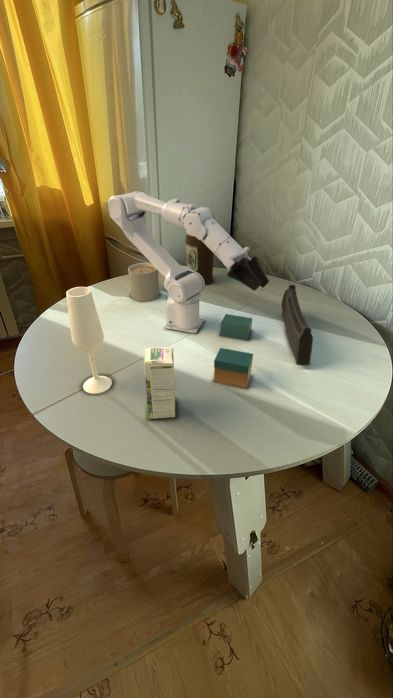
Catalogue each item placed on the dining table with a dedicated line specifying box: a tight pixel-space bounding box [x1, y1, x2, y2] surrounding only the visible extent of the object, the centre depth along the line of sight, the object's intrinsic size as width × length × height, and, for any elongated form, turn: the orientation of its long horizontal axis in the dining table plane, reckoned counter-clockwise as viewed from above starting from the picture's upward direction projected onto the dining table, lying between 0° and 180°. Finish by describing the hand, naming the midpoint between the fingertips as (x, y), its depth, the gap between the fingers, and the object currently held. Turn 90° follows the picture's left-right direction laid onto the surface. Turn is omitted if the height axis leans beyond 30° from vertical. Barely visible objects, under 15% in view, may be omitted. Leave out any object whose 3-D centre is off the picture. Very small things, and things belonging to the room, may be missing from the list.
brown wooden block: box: [213, 371, 252, 389], centre depth 85 cm, size 8×5×2 cm, turn 72°
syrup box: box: [143, 346, 176, 420], centre depth 73 cm, size 6×6×14 cm
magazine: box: [281, 284, 314, 367], centre depth 98 cm, size 17×3×30 cm
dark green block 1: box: [220, 313, 253, 334], centre depth 101 cm, size 8×5×2 cm
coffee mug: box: [127, 262, 160, 302], centre depth 123 cm, size 13×10×10 cm
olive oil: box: [184, 233, 215, 285], centre depth 128 cm, size 11×11×25 cm
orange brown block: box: [213, 363, 253, 381], centre depth 84 cm, size 8×5×2 cm, turn 72°
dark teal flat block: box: [213, 347, 254, 374], centre depth 82 cm, size 8×5×2 cm
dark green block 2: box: [219, 324, 253, 341], centre depth 102 cm, size 8×5×2 cm
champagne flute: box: [65, 286, 113, 395], centre depth 77 cm, size 7×7×24 cm
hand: (262, 286), depth 85 cm, fingers open, 7 cm apart
